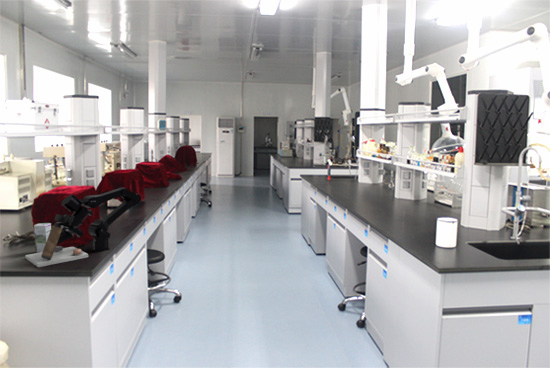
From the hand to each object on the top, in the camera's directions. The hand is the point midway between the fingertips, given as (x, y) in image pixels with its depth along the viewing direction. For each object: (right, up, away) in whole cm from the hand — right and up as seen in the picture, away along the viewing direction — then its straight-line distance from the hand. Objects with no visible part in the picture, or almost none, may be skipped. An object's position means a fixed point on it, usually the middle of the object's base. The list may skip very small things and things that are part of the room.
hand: (56, 244), depth 193 cm
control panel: (-2, -7, +5) cm, 9 cm away
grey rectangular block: (-5, -4, +10) cm, 12 cm away
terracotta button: (+8, -5, +5) cm, 10 cm away
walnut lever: (-3, -6, -3) cm, 7 cm away
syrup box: (-14, -6, +15) cm, 22 cm away
